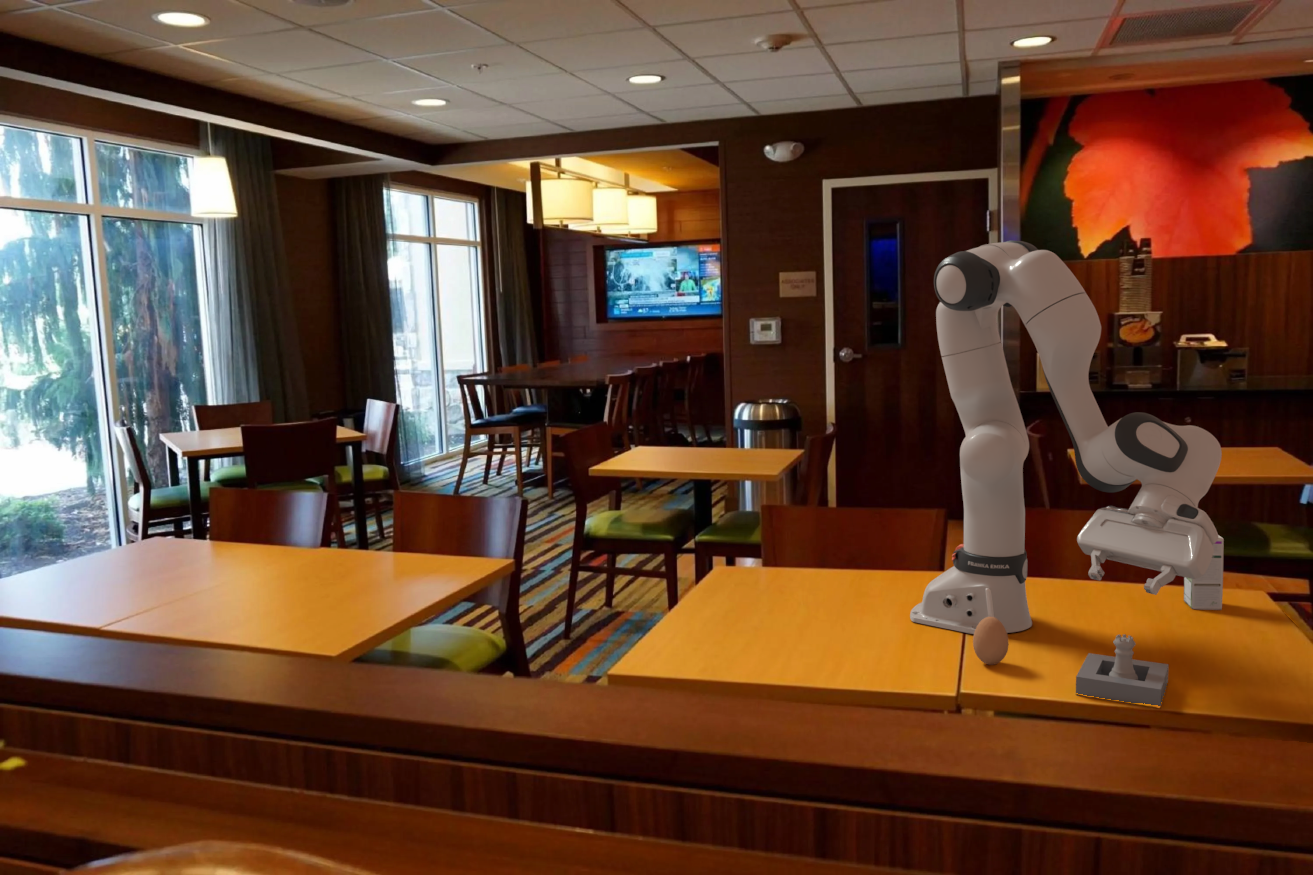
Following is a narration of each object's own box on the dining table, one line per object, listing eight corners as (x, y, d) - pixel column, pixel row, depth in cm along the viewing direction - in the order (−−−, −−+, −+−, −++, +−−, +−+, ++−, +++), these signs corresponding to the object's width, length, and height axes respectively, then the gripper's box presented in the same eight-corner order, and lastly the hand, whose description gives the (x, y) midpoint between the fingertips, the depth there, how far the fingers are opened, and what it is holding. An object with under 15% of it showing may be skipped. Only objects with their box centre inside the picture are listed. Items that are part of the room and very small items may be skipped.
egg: (977, 656, 181) (977, 610, 180) (1011, 661, 178) (1012, 614, 177) (969, 666, 176) (969, 619, 175) (1004, 672, 173) (1004, 623, 172)
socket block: (1075, 694, 163) (1076, 676, 162) (1088, 670, 173) (1088, 653, 172) (1160, 708, 157) (1161, 689, 156) (1167, 682, 167) (1168, 664, 166)
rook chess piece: (1110, 678, 168) (1112, 630, 167) (1140, 683, 165) (1142, 635, 164) (1105, 687, 164) (1106, 638, 163) (1135, 692, 162) (1137, 643, 160)
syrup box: (1223, 610, 202) (1226, 537, 200) (1190, 609, 203) (1193, 537, 201) (1213, 601, 208) (1216, 531, 206) (1181, 601, 209) (1184, 530, 207)
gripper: (1093, 492, 173) (1054, 558, 169) (1216, 514, 156) (1176, 588, 152) (1107, 515, 176) (1069, 580, 172) (1229, 539, 160) (1190, 611, 156)
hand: (1120, 584), depth 162 cm, fingers open, 8 cm apart
